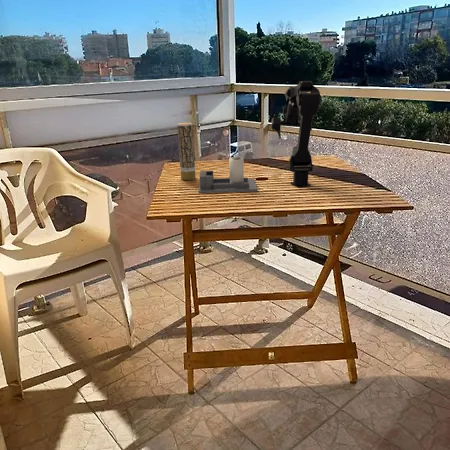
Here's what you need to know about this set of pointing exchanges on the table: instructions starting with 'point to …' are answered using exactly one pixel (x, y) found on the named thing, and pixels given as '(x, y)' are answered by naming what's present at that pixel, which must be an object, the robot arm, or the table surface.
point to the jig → (223, 184)
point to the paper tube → (186, 150)
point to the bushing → (236, 169)
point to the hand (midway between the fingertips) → (289, 138)
